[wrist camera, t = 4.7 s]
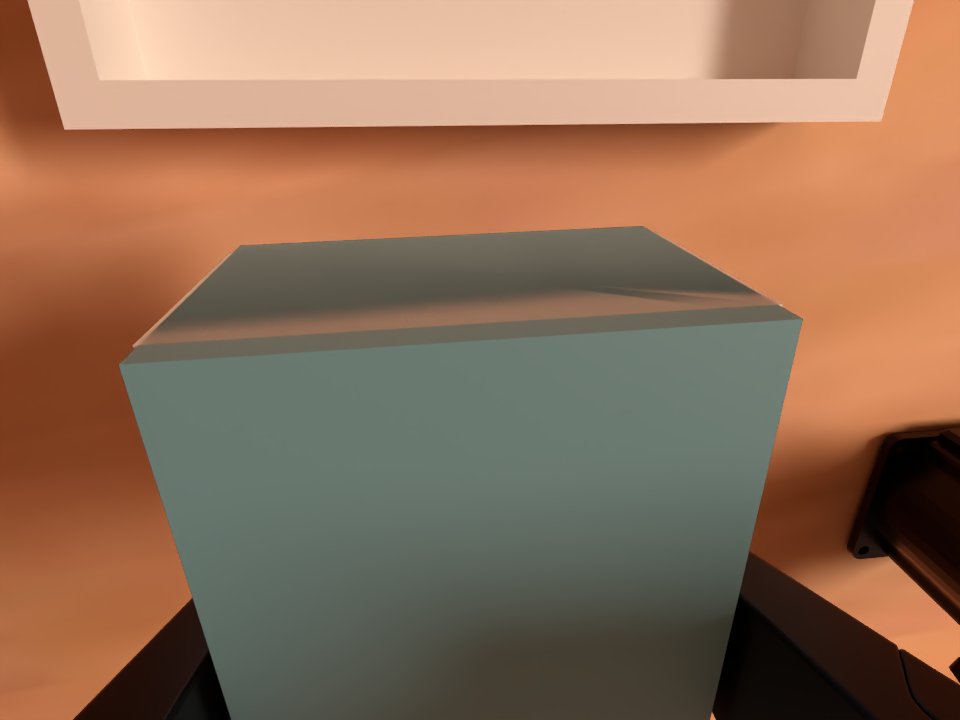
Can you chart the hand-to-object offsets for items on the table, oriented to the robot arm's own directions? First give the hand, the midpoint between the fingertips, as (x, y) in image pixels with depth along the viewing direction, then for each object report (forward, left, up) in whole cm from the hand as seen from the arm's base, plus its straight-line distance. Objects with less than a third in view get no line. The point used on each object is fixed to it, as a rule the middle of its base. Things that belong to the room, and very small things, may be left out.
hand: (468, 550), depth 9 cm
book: (0, 0, -2) cm, 2 cm away
